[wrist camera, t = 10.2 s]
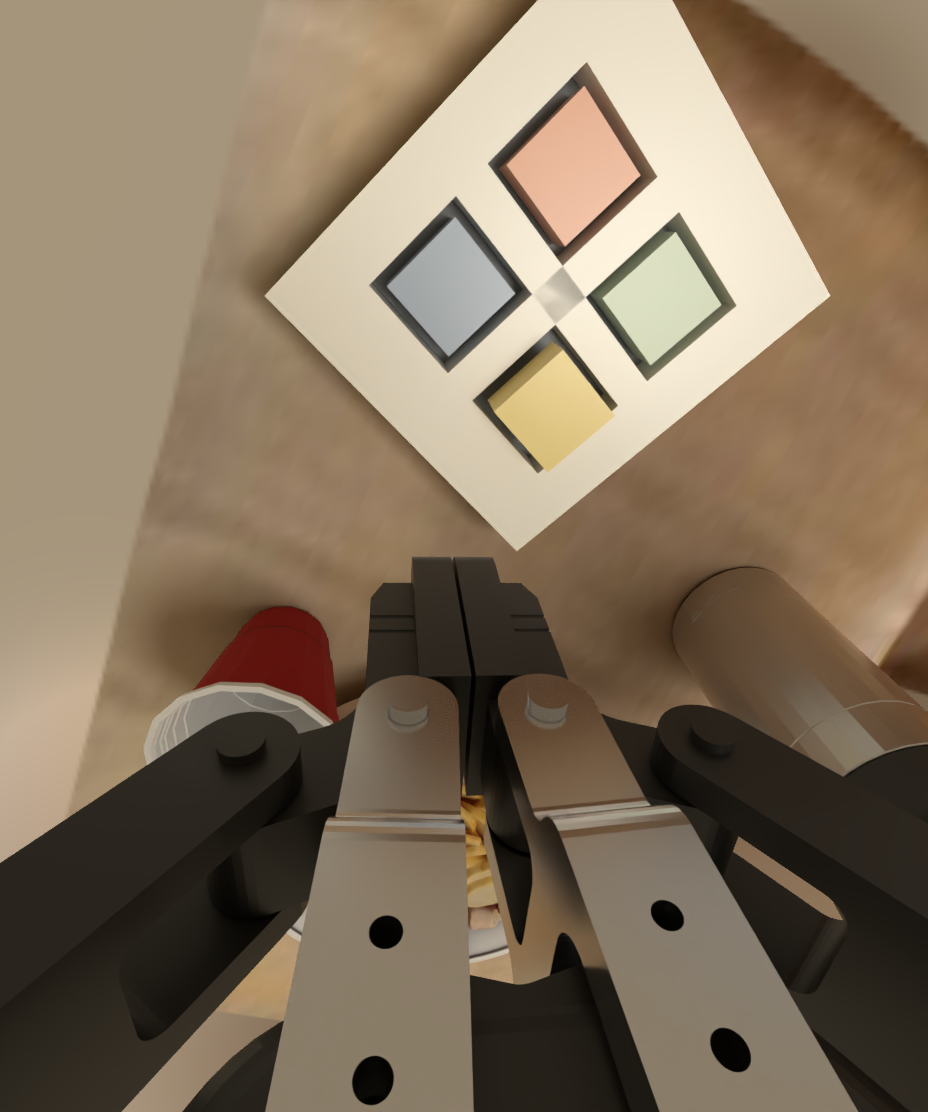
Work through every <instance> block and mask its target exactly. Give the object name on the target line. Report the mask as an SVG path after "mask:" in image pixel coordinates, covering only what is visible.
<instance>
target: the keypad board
mask: <svg viewBox="0 0 928 1112" xmlns="http://www.w3.org/2000/svg"><path fill="white" fill-rule="evenodd" d="M583 86H585V87H586V89H587V91H588V92H589V94H590V95H591V97H592V99H593V100H594V102H595V103H596V105H597V107H598V108H599V110H600V111H601V113H602V115H603V116H604V118H605V119H606V121H607V123H608V124H609V126H610V127H611V129H612V131H613V132H614V134H615V135H616V137H617V139H618V140H619V142H620V143H621V145H622V147H623V148H624V150H625V151H626V153H627V155H628V156H629V158H630V159H631V161H632V163H633V164H634V166H635V167H636V169H637V171H638V172H639V174H640V176H639V177H638V178H637V179H636V180H635V181H634V182H633V183H632V184H631V185H630V186H629V187H628V188H627V189H626V190H624V191H623V192H622V193H621V194H620V195H619V196H618V197H617V198H616V199H615V200H614V201H613V202H612V203H611V204H610V205H609V206H608V207H606V208H605V209H604V210H603V211H602V212H601V213H600V214H599V215H598V216H597V217H596V218H595V219H594V220H593V221H592V222H591V223H590V224H589V225H587V226H586V227H585V228H584V229H583V230H582V231H581V232H580V233H579V234H578V235H577V236H576V237H575V238H574V239H573V240H572V241H571V242H569V243H568V244H567V245H566V246H559V245H554V244H553V243H552V241H551V240H550V239H549V237H548V236H547V234H546V233H545V232H544V230H543V229H542V228H541V226H540V225H539V223H538V222H537V221H536V219H535V218H534V217H533V215H532V214H531V212H530V211H529V210H528V208H527V207H526V206H525V204H524V203H523V201H522V200H521V199H520V197H519V196H518V195H517V193H516V192H515V190H514V189H513V188H512V186H511V185H510V184H509V182H508V181H507V179H506V178H505V177H504V175H503V174H502V173H501V171H500V170H499V168H500V167H501V166H502V165H503V164H504V163H505V162H506V161H507V160H508V159H509V158H510V157H511V156H512V155H513V154H514V153H515V152H516V151H517V150H518V149H519V148H520V147H521V146H522V145H523V144H524V143H525V142H526V141H527V140H528V139H529V138H530V136H531V135H532V134H533V133H534V132H535V131H536V130H537V129H538V128H539V127H540V126H541V125H542V124H543V123H544V122H545V121H546V120H547V119H548V118H549V117H550V116H551V115H552V114H553V113H554V112H555V111H556V110H557V109H558V108H559V107H560V106H561V105H562V104H563V103H564V102H565V101H566V100H567V99H568V98H569V97H570V96H571V95H572V94H574V93H575V92H576V91H578V90H579V89H581V88H582V87H583ZM451 217H456V219H457V220H458V221H459V222H460V224H461V225H462V226H463V228H464V229H465V230H466V231H467V233H468V234H469V235H470V236H471V238H472V239H473V240H474V242H475V243H476V244H477V245H478V247H479V248H480V249H481V250H482V252H483V253H484V254H485V256H486V257H487V258H488V259H489V261H490V262H491V263H492V264H493V266H494V267H495V268H496V270H497V271H498V272H499V273H500V275H501V276H502V277H503V278H504V280H505V281H506V282H507V284H508V285H509V286H510V287H511V289H512V290H513V291H514V292H515V294H514V295H513V296H512V297H511V298H510V299H509V300H508V301H507V302H506V303H505V304H504V305H503V306H502V307H501V308H500V309H499V310H498V311H497V312H495V313H494V314H493V315H492V316H491V317H490V318H489V319H488V320H487V321H486V322H485V323H484V324H483V325H482V326H481V327H480V328H479V329H477V330H476V331H475V332H474V333H473V334H472V335H471V336H470V337H469V338H468V339H467V340H466V341H465V342H464V343H463V344H462V345H461V346H460V347H458V348H457V349H456V350H455V351H454V352H453V353H452V354H451V355H450V356H448V355H447V354H446V353H445V352H444V351H443V350H442V349H441V347H440V346H439V345H438V344H437V343H436V342H435V341H434V339H433V338H432V337H431V336H430V335H429V334H428V333H427V332H426V330H425V329H424V328H423V327H422V326H421V325H420V324H419V323H418V321H417V320H416V319H415V318H414V317H413V316H412V315H411V313H410V312H409V311H408V310H407V309H406V308H405V307H404V306H403V304H402V303H401V302H400V301H399V300H398V299H397V298H396V296H395V295H394V294H393V293H392V292H391V291H390V290H389V289H388V287H387V282H388V281H389V280H390V279H391V278H392V277H393V276H394V275H395V274H396V273H397V272H398V271H399V270H400V269H401V268H402V267H403V266H404V265H405V264H406V263H407V262H408V261H409V260H410V259H411V258H412V257H413V256H414V255H415V254H416V252H417V251H418V250H419V249H420V248H421V247H422V246H423V245H424V244H425V243H426V242H427V241H428V240H429V239H430V238H431V237H432V236H433V235H434V234H435V233H436V232H437V231H438V230H439V229H440V228H441V227H442V226H443V225H444V224H445V223H446V222H447V221H448V220H449V219H450V218H451ZM658 231H661V232H676V233H677V235H678V236H679V238H680V239H681V241H682V243H683V244H684V246H685V247H686V249H687V251H688V252H689V254H690V255H691V257H692V259H693V260H694V262H695V263H696V265H697V267H698V268H699V270H700V271H701V273H702V275H703V276H704V278H705V279H706V281H707V283H708V284H709V286H710V287H711V289H712V291H713V292H714V294H715V295H716V297H717V299H718V300H719V302H720V303H721V306H720V307H718V308H717V309H716V310H715V311H714V312H713V313H711V314H710V315H709V316H708V317H707V318H706V319H704V320H703V321H702V322H701V323H700V324H699V325H697V326H696V327H695V328H694V329H693V330H691V331H690V332H689V333H688V334H687V335H686V336H684V337H683V338H682V339H681V340H680V341H679V342H677V343H676V344H675V345H674V346H673V347H672V348H670V349H669V350H668V351H667V352H666V353H664V354H663V355H662V356H661V357H660V358H659V359H657V360H656V361H655V362H654V363H653V364H652V365H649V364H647V363H646V362H644V361H642V360H640V359H638V358H637V357H635V356H634V354H633V353H632V352H631V350H630V349H629V347H628V346H627V345H626V343H625V342H624V341H623V339H622V338H621V336H620V335H619V334H618V332H617V331H616V330H615V328H614V327H613V325H612V324H611V323H610V321H609V320H608V319H607V317H606V316H605V314H604V313H603V312H602V310H601V309H600V308H599V306H598V305H597V303H596V302H595V301H594V299H593V298H592V297H591V295H590V293H591V292H592V291H593V290H594V289H595V288H596V287H597V286H598V285H600V284H601V283H602V282H603V281H604V280H605V279H606V278H607V277H608V276H609V275H611V274H612V273H613V272H614V271H615V270H616V269H617V268H618V267H619V266H620V265H622V264H623V263H624V262H625V261H626V260H627V259H628V258H629V257H630V256H631V255H632V254H634V253H635V252H636V251H637V250H638V249H639V248H640V247H641V246H642V245H643V244H645V243H646V242H647V241H648V240H649V239H650V238H651V237H652V236H653V235H654V234H656V233H657V232H658ZM829 296H830V294H829V293H828V291H827V289H826V287H825V285H824V283H823V281H822V279H821V278H820V276H819V274H818V272H817V270H816V268H815V266H814V265H813V263H812V261H811V259H810V257H809V255H808V253H807V251H806V250H805V248H804V246H803V244H802V242H801V240H800V238H799V236H798V235H797V233H796V231H795V229H794V227H793V225H792V223H791V222H790V220H789V218H788V216H787V214H786V212H785V210H784V208H783V207H782V205H781V203H780V201H779V199H778V197H777V195H776V193H775V192H774V190H773V188H772V186H771V184H770V182H769V180H768V179H767V177H766V175H765V173H764V171H763V169H762V167H761V165H760V164H759V162H758V160H757V158H756V156H755V154H754V152H753V150H752V149H751V147H750V145H749V143H748V141H747V139H746V137H745V136H744V134H743V132H742V130H741V128H740V126H739V124H738V122H737V121H736V119H735V117H734V115H733V113H732V111H731V109H730V107H729V106H728V104H727V102H726V100H725V98H724V96H723V94H722V92H721V91H720V89H719V87H718V85H717V83H716V81H715V79H714V78H713V76H712V74H711V72H710V70H709V68H708V66H707V64H706V63H705V61H704V59H703V57H702V55H701V53H700V51H699V49H698V48H697V46H696V44H695V42H694V40H693V38H692V36H691V35H690V33H689V31H688V29H687V27H686V25H685V23H684V21H683V20H682V18H681V16H680V14H679V12H678V10H677V8H676V6H675V5H674V3H673V1H672V0H537V2H536V3H535V4H534V5H533V6H532V7H531V8H530V9H529V10H528V11H527V12H526V13H525V15H524V16H523V17H522V18H521V19H520V20H519V21H518V22H517V23H516V24H515V25H514V26H513V28H512V29H511V30H510V31H509V32H508V33H507V34H506V35H505V36H504V37H503V38H502V39H501V41H500V42H499V43H498V44H497V45H496V46H495V47H494V48H493V49H492V50H491V51H490V52H489V53H488V55H487V56H486V57H485V58H484V59H483V60H482V61H481V62H480V63H479V64H478V65H477V66H476V68H475V69H474V70H473V71H472V72H471V73H470V74H469V75H468V76H467V77H466V78H465V79H464V81H463V82H462V83H461V84H460V85H459V86H458V87H457V88H456V89H455V90H454V91H453V92H452V94H451V95H450V96H449V97H448V98H447V99H446V100H445V101H444V102H443V103H442V104H441V105H440V107H439V108H438V109H437V110H436V111H435V112H434V113H433V114H432V115H431V116H430V117H429V118H428V119H427V121H426V122H425V123H424V124H423V125H422V126H421V127H420V128H419V129H418V130H417V131H416V132H415V134H414V135H413V136H412V137H411V138H410V139H409V140H408V141H407V142H406V143H405V144H404V145H403V147H402V148H401V149H400V150H399V151H398V152H397V153H396V154H395V155H394V156H393V157H392V158H391V160H390V161H389V162H388V163H387V164H386V165H385V166H384V167H383V168H382V169H381V170H380V171H379V172H378V174H377V175H376V176H375V177H374V178H373V179H372V180H371V181H370V182H369V183H368V184H367V185H366V187H365V188H364V189H363V190H362V191H361V192H360V193H359V194H358V195H357V196H356V197H355V198H354V200H353V201H352V202H351V203H350V204H349V205H348V206H347V207H346V208H345V209H344V210H343V211H342V213H341V214H340V215H339V216H338V217H337V218H336V219H335V220H334V221H333V222H332V223H331V224H330V226H329V227H328V228H327V229H326V230H325V231H324V232H323V233H322V234H321V235H320V236H319V237H318V238H317V240H316V241H315V242H314V243H313V244H312V245H311V246H310V247H309V248H308V249H307V250H306V251H305V253H304V254H303V255H302V256H301V257H300V258H299V259H298V260H297V261H296V262H295V263H294V264H293V266H292V267H291V268H290V269H289V270H288V271H287V272H286V273H285V274H284V275H283V276H282V277H281V279H280V280H279V281H278V282H277V283H276V284H275V285H274V286H273V287H272V288H271V289H270V290H269V292H268V293H267V294H266V295H265V297H266V298H267V299H268V300H269V301H270V302H271V303H272V304H273V305H274V306H275V307H276V308H277V309H278V310H279V311H280V312H281V313H282V314H283V315H284V316H285V317H286V318H287V319H288V320H289V321H290V322H291V323H292V324H293V325H294V326H295V327H296V328H297V329H298V330H299V331H300V332H301V333H302V334H303V335H304V336H305V337H306V338H307V339H308V340H309V341H310V342H311V343H312V345H313V346H314V347H315V348H316V349H317V350H318V351H319V352H320V353H321V354H322V355H323V356H324V357H325V358H326V359H327V360H328V361H329V362H330V363H331V364H332V365H333V366H334V367H335V368H336V369H337V370H338V371H339V372H340V373H341V374H342V375H343V376H344V377H345V378H346V379H347V380H348V381H349V382H350V383H351V384H352V385H353V386H354V387H355V388H356V389H357V390H358V391H359V392H360V393H361V394H362V395H363V396H364V397H365V398H366V399H367V400H368V401H369V402H370V403H371V404H372V405H373V406H374V407H375V408H376V409H377V410H378V411H379V412H380V413H381V414H382V415H383V416H384V417H385V418H386V419H387V420H388V421H389V422H390V423H391V424H392V425H393V426H394V427H395V428H396V429H397V431H398V432H399V433H400V434H401V435H402V436H403V437H404V438H405V439H406V440H407V441H408V442H409V443H410V444H411V445H412V446H413V447H414V448H415V449H416V450H417V451H418V452H419V453H420V454H421V455H422V456H423V457H424V458H425V459H426V460H427V461H428V462H429V463H430V464H431V465H432V466H433V467H434V468H435V469H436V470H437V471H438V472H439V473H440V474H441V475H442V476H443V477H444V478H445V479H446V480H447V481H448V482H449V483H450V484H451V485H452V486H453V487H454V488H455V489H456V490H457V491H458V492H459V493H460V494H461V495H462V496H463V497H464V498H465V499H466V500H467V501H468V502H469V503H470V504H471V505H472V506H473V507H474V508H475V509H476V510H477V511H478V512H479V513H480V514H481V515H482V517H483V518H484V519H485V520H486V521H487V522H488V523H489V524H490V525H491V526H492V527H493V528H494V529H495V530H496V531H497V532H498V533H499V534H500V535H501V536H502V537H503V538H504V539H505V540H506V541H507V542H508V543H509V544H510V545H511V546H512V547H513V548H514V549H515V550H516V551H518V550H519V549H520V548H522V547H523V546H524V545H525V544H526V543H528V542H529V541H530V540H531V539H533V538H534V537H535V536H536V535H537V534H539V533H540V532H541V531H542V530H544V529H545V528H546V527H547V526H549V525H550V524H551V523H552V522H553V521H555V520H556V519H557V518H558V517H560V516H561V515H562V514H563V513H564V512H566V511H567V510H568V509H569V508H571V507H572V506H573V505H574V504H576V503H577V502H578V501H579V500H580V499H582V498H583V497H584V496H585V495H587V494H588V493H589V492H590V491H591V490H593V489H594V488H595V487H596V486H598V485H599V484H600V483H601V482H602V481H604V480H605V479H606V478H607V477H609V476H610V475H611V474H612V473H614V472H615V471H616V470H617V469H618V468H620V467H621V466H622V465H623V464H625V463H626V462H627V461H628V460H629V459H631V458H632V457H633V456H634V455H636V454H637V453H638V452H639V451H641V450H642V449H643V448H644V447H645V446H647V445H648V444H649V443H650V442H652V441H653V440H654V439H655V438H656V437H658V436H659V435H660V434H661V433H663V432H664V431H665V430H666V429H668V428H669V427H670V426H671V425H672V424H674V423H675V422H676V421H677V420H679V419H680V418H681V417H682V416H683V415H685V414H686V413H687V412H688V411H690V410H691V409H692V408H693V407H695V406H696V405H697V404H698V403H699V402H701V401H702V400H703V399H704V398H706V397H707V396H708V395H709V394H710V393H712V392H713V391H714V390H715V389H717V388H718V387H719V386H720V385H722V384H723V383H724V382H725V381H726V380H728V379H729V378H730V377H731V376H733V375H734V374H735V373H736V372H737V371H739V370H740V369H741V368H742V367H744V366H745V365H746V364H747V363H748V362H750V361H751V360H752V359H753V358H755V357H756V356H757V355H758V354H760V353H761V352H762V351H763V350H764V349H766V348H767V347H768V346H769V345H771V344H772V343H773V342H774V341H775V340H777V339H778V338H779V337H780V336H782V335H783V334H784V333H785V332H787V331H788V330H789V329H790V328H791V327H793V326H794V325H795V324H796V323H798V322H799V321H800V320H801V319H802V318H804V317H805V316H806V315H807V314H809V313H810V312H811V311H812V310H814V309H815V308H816V307H817V306H818V305H820V304H821V303H822V302H823V301H825V300H826V299H827V298H828V297H829ZM551 342H554V343H555V344H556V345H558V346H559V347H560V348H562V349H563V350H564V351H565V353H566V354H567V355H568V356H569V358H570V359H571V360H572V361H573V363H574V364H575V365H576V367H577V368H578V369H579V370H580V372H581V373H582V374H583V376H584V377H585V378H586V379H587V381H588V382H589V383H590V384H591V386H592V387H593V388H594V390H595V391H596V392H597V393H598V395H599V396H600V397H601V399H602V400H603V401H604V402H605V404H606V405H607V406H608V407H609V409H610V410H611V411H612V413H613V414H614V415H615V416H614V417H613V418H612V419H611V420H609V421H608V422H607V423H606V424H605V425H604V426H602V427H601V428H600V429H599V430H598V431H596V432H595V433H594V434H593V435H592V436H590V437H589V438H588V439H587V440H586V441H584V442H583V443H582V444H581V445H580V446H579V447H577V448H576V449H575V450H574V451H573V452H571V453H570V454H569V455H568V456H567V457H565V458H564V459H563V460H562V461H561V462H560V463H558V464H557V465H556V466H555V467H554V468H552V469H551V470H550V471H549V472H547V471H546V470H545V469H544V468H543V467H542V466H541V464H540V463H539V462H538V461H537V460H536V459H535V458H534V457H533V455H532V454H531V453H530V452H529V451H528V450H527V449H526V448H525V446H524V445H523V444H522V443H521V442H520V441H519V440H518V439H517V437H516V436H515V435H514V434H513V433H512V432H511V431H510V430H509V428H508V427H507V426H506V425H505V424H504V423H503V422H502V421H501V419H500V418H499V417H498V416H497V415H496V414H495V413H494V411H493V409H492V407H491V406H490V404H489V402H488V399H489V398H490V397H491V396H492V395H493V394H494V393H496V392H497V391H498V390H499V389H500V388H501V387H502V386H503V385H504V384H505V383H507V382H508V381H509V380H510V379H511V378H512V377H513V376H514V375H515V374H517V373H518V372H519V371H520V370H521V369H522V368H523V367H524V366H525V365H526V364H528V363H529V362H530V361H531V360H532V359H533V358H534V357H535V356H536V355H538V354H539V353H540V352H541V351H542V350H543V349H544V348H545V347H546V346H547V345H549V344H550V343H551Z"/></svg>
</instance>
